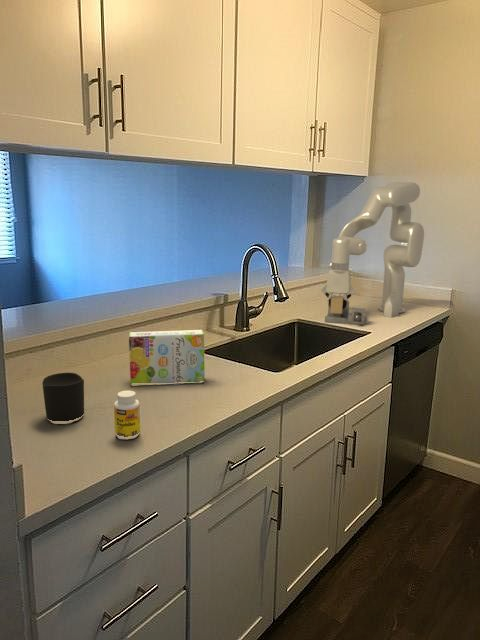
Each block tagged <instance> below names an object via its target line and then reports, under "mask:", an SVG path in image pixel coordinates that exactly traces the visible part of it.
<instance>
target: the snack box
mask: <svg viewBox="0 0 480 640" xmlns="http://www.w3.org/2000/svg"><path fill="white" fill-rule="evenodd" d="M128 353H129V354H128V356H129V378H130V385H131V384H132V383H175V382H177V383H178V382H200V381H204V382H205V333H204V331H203V330H202V329H190V330H189V329H187V330H160V331H159V330H158V331H154V330H153V331H134V332H133V331H132V332H131V331H130V332H128Z"/></svg>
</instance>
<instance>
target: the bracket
mask: <svg viewBox="0 0 480 640" xmlns="http://www.w3.org/2000/svg"><path fill="white" fill-rule="evenodd" d="M327 306H328V305H327ZM330 310H331V308H330V306H328V309H327V314H326V315H325V316H324V323H329V324H330V323H331V324H341V325H342V324H343V325H354V326H355V325H356V326H365V323H366V318H367V316H366V308H362V307H352V310H351V314H349V313H350V312H349V311H350V301H349V302H347V305H346V307H345V309H344V311H342V314H340V313H330ZM355 312H362V316H361V318H360V321H355V320H354V318H355V315H356V313H355Z"/></svg>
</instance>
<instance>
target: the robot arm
mask: <svg viewBox="0 0 480 640" xmlns="http://www.w3.org/2000/svg"><path fill="white" fill-rule="evenodd" d="M420 195H421V188H420V186H419V185H418V184H417V183H416V182H407V181H405V182H402V181H401V182H400V181H399V182H398V181H397V182H390V183H387V184H386V185H385V186H380V187H376V188H374V189H373V190H372V192H371V193H370V195H369V197H368V199H367V201H366V203H365V204H364V207H362V210H361V212H360V213H359V214H358V215H357V216H356V217H353V219H352V220H350V221H349V222H348V223H347V224H346V225H345V226H344V227H343V228H342V230H341V231H340V233H339V235H338V236H337V237H335V238H334V239H333V240H332V247H331V250H332V251H331V262H330V263H327V267H328V268H330V269H328V272H327V277H326V278H327V279H326V285H325V286H324V287H323V288H322V289H321V290H320V291H321V292H322V293H323V294H324V296H326V298H328V299H329V301H328V305H327V306H330V308H331V298H332V296H333V294H336V293H337V294H340V295H342V296H344V300H343V309H345V307H346V305H347V299H348V298H349V299H350V298H351V297H353V296H354V295H355V294H356V291H355V289H354V288H353V286H352V283H351V280H352V279H351V270H349V267H350V255H352V256H361V255H363V254H365V253H366V252H367V250H368V243H367V241H366V240H365V239H364V238H361V237H356V235H357V234H358V233H359V232H362V231H363V230H366V229H369V228H371V227H373V226H375V225H377V223H378V222H379V221H380V218H381V217H382V215H383V213H384V211H385V210H386V208H387V207H388V208H391V211H392V214H391V221H390V222H391V223H390V228H389V229H390V230H389V238H390V239H391V241H394V242H397V243H404V244H405V243H406V245H403V244H390V245H388V246H386V248H385V249H384V250H383V264H384V265H383V267H384V273H383V285H382V296H381V299H382V300H381V306H378V308H377V309H378V311H380V312H382V313H384V308H385V303H386V301H387V299H388V297H389V296H390V295H393V294H397V298H398V301H399V312H398V314H403V313H405V312H406V308H404V307H403V301H404V290H405V278H406V273H405V270H404V267H405V268H415V267H417V266H418V265H419V263H420V262H421V258H422V254H423V253H422V252H423V247H424V246H423V245H424V239H425V230H424V227H423V225H422V224H421V223H419V222H416V221H412V220H411V219H412V207H411V203H414V202H415V201H417V200H418V199H419V197H420Z"/></svg>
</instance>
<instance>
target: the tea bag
mask: <svg viewBox="0 0 480 640" xmlns="http://www.w3.org/2000/svg"><path fill="white" fill-rule="evenodd" d="M398 312H399V301H398V298H397V294H393V295H390V296H389V297H388V299H387V301H386V303H385V308H384V312H383V317H384V318H390V319H392V318H395V317H398V316H399V313H398Z"/></svg>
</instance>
